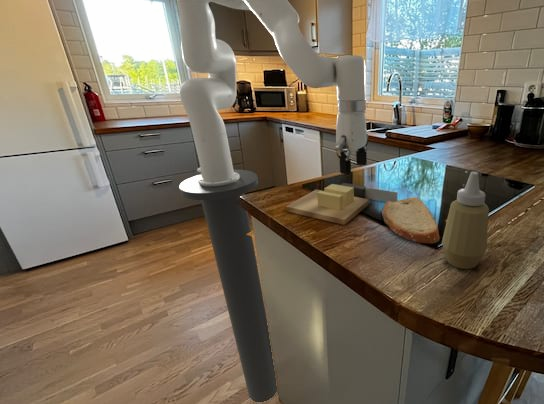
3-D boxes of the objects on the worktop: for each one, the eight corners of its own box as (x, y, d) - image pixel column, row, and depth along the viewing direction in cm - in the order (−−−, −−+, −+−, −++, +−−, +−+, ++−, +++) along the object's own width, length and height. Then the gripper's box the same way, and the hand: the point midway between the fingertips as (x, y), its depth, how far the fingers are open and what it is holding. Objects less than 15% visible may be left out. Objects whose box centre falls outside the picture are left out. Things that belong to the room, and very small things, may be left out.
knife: (339, 195, 90) (339, 184, 89) (343, 192, 92) (343, 181, 91) (395, 205, 83) (396, 193, 81) (398, 202, 84) (399, 191, 83)
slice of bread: (434, 248, 62) (435, 232, 61) (361, 226, 71) (361, 212, 70) (458, 216, 76) (460, 202, 75) (395, 201, 85) (395, 189, 84)
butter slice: (317, 205, 79) (316, 192, 78) (320, 203, 80) (320, 190, 79) (340, 210, 76) (339, 196, 75) (343, 208, 78) (342, 194, 76)
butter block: (325, 201, 82) (324, 188, 81) (332, 196, 85) (332, 183, 84) (347, 205, 79) (346, 192, 78) (354, 200, 82) (353, 187, 81)
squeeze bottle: (441, 247, 63) (450, 164, 55) (482, 253, 60) (497, 168, 53) (438, 269, 56) (449, 178, 48) (484, 277, 53) (502, 182, 46)
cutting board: (286, 211, 80) (285, 206, 79) (316, 193, 91) (316, 189, 91) (344, 225, 72) (344, 219, 72) (369, 204, 84) (369, 199, 83)
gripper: (354, 103, 88) (356, 160, 95) (321, 110, 74) (326, 176, 80) (377, 104, 85) (377, 162, 91) (348, 111, 70) (351, 179, 77)
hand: (354, 168), depth 86 cm, fingers open, 9 cm apart
